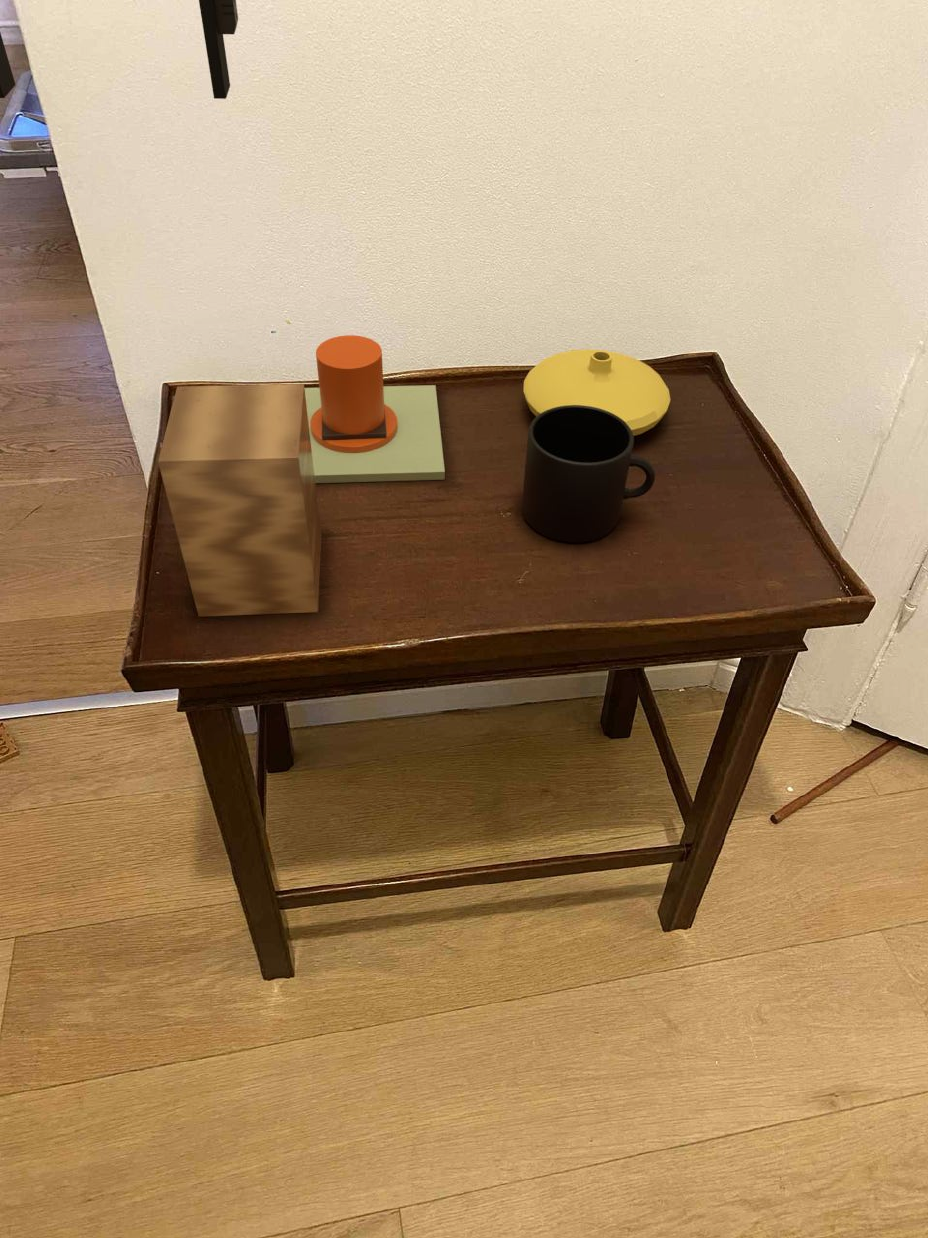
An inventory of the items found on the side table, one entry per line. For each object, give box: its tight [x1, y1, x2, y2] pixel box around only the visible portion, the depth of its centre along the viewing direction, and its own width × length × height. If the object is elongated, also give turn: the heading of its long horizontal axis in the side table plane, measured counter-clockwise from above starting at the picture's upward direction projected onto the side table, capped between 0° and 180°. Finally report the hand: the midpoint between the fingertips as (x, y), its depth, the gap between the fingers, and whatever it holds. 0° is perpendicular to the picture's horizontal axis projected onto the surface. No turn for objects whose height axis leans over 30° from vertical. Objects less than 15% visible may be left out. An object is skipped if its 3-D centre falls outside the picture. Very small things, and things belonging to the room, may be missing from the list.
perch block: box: [157, 383, 322, 618], centre depth 75 cm, size 10×10×16 cm
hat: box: [310, 334, 398, 453], centre depth 92 cm, size 9×9×9 cm
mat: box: [304, 384, 446, 484], centre depth 95 cm, size 18×16×1 cm
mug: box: [521, 405, 656, 543], centre depth 85 cm, size 9×12×9 cm
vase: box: [522, 348, 671, 437], centre depth 97 cm, size 16×16×7 cm
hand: (114, 92), depth 58 cm, fingers open, 13 cm apart
